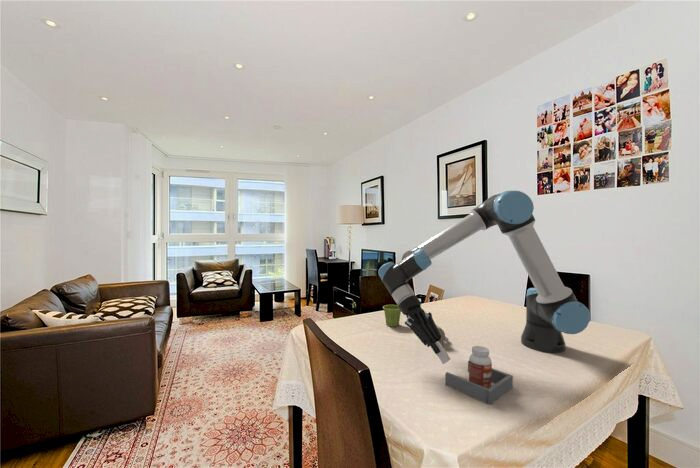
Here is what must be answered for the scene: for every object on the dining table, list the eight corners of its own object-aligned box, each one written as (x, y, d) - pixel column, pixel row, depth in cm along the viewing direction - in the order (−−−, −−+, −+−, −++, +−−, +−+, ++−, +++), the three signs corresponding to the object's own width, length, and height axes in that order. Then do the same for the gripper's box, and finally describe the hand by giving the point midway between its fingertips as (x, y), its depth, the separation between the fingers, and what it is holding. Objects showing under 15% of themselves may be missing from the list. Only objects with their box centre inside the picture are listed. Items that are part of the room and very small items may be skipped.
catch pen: (445, 384, 92) (445, 373, 92) (469, 370, 101) (469, 360, 101) (490, 404, 82) (490, 391, 82) (512, 387, 91) (512, 375, 91)
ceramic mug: (430, 347, 121) (431, 327, 121) (419, 339, 129) (419, 321, 129) (453, 344, 125) (453, 325, 125) (440, 337, 133) (441, 319, 132)
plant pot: (390, 329, 143) (390, 310, 142) (378, 323, 151) (379, 305, 151) (406, 326, 147) (406, 308, 147) (394, 321, 155) (394, 303, 155)
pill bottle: (486, 393, 87) (487, 354, 87) (465, 385, 92) (465, 348, 91) (494, 385, 92) (495, 348, 92) (473, 378, 96) (474, 343, 96)
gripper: (412, 303, 118) (450, 361, 106) (388, 309, 109) (427, 372, 97) (423, 292, 114) (465, 350, 101) (400, 296, 105) (443, 361, 93)
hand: (446, 361), depth 99 cm, fingers closed
